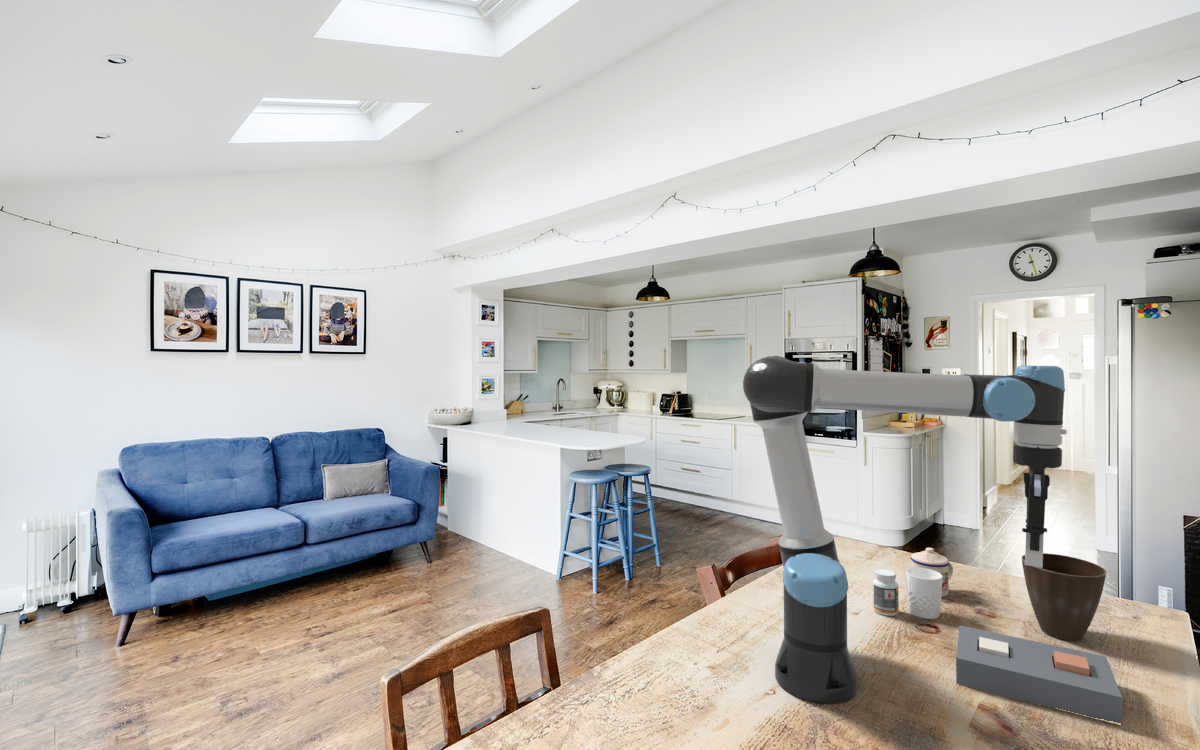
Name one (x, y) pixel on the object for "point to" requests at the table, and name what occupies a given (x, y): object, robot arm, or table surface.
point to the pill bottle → (885, 593)
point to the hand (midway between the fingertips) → (1033, 565)
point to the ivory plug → (993, 647)
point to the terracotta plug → (1071, 663)
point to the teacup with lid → (934, 565)
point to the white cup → (924, 592)
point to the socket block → (1038, 675)
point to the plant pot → (1064, 594)
